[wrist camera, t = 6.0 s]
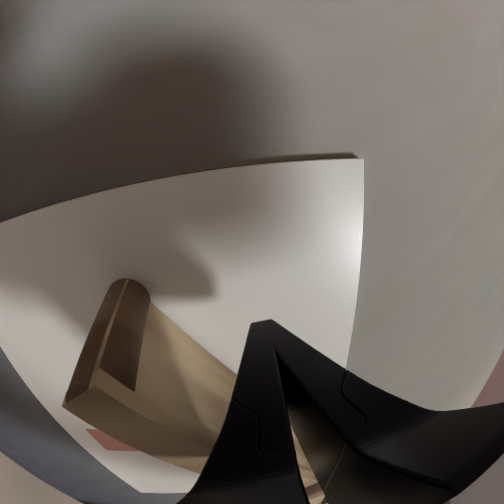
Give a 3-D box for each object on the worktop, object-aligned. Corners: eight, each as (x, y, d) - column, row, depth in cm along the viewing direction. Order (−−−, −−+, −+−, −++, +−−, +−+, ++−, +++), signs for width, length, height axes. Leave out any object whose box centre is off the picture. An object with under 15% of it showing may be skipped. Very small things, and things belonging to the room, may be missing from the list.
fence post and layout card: (359, 158, 9) (489, 191, 4) (316, 468, 20) (335, 511, 15) (-43, 239, 7) (-115, 300, 1) (144, 492, 17) (147, 537, 12)
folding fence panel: (292, 409, 13) (321, 480, 9) (268, 421, 13) (291, 493, 9) (127, 269, 8) (86, 379, 4) (99, 295, 9) (54, 401, 4)
